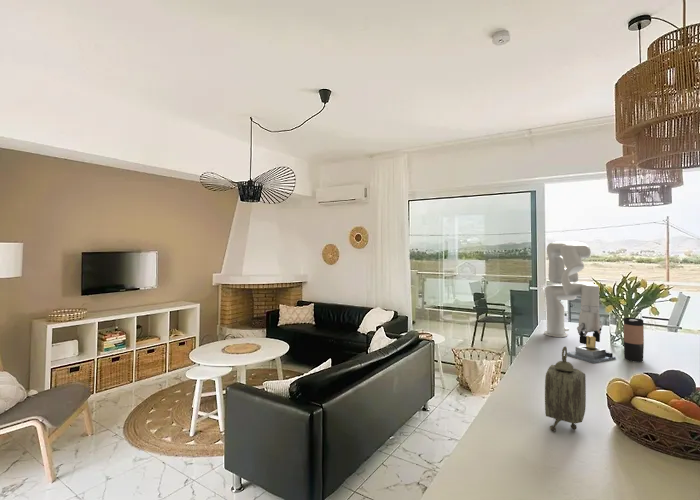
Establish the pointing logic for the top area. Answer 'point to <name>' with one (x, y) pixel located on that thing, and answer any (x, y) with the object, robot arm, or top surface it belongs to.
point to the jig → (591, 354)
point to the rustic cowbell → (565, 393)
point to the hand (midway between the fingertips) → (589, 342)
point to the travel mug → (633, 339)
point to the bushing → (591, 342)
